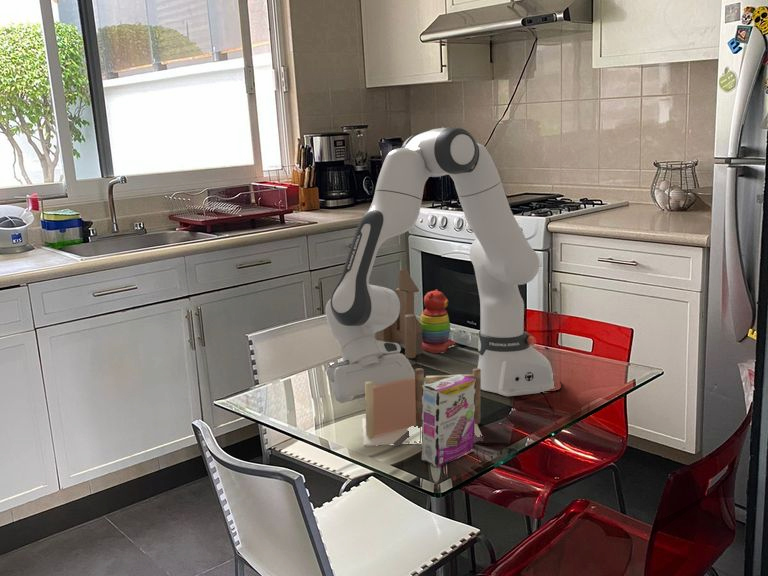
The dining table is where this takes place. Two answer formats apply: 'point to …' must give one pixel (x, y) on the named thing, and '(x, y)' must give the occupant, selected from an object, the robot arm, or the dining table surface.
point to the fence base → (429, 379)
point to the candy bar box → (447, 419)
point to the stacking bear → (435, 323)
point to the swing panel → (389, 406)
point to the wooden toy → (405, 319)
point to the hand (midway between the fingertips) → (387, 409)
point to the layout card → (395, 436)
